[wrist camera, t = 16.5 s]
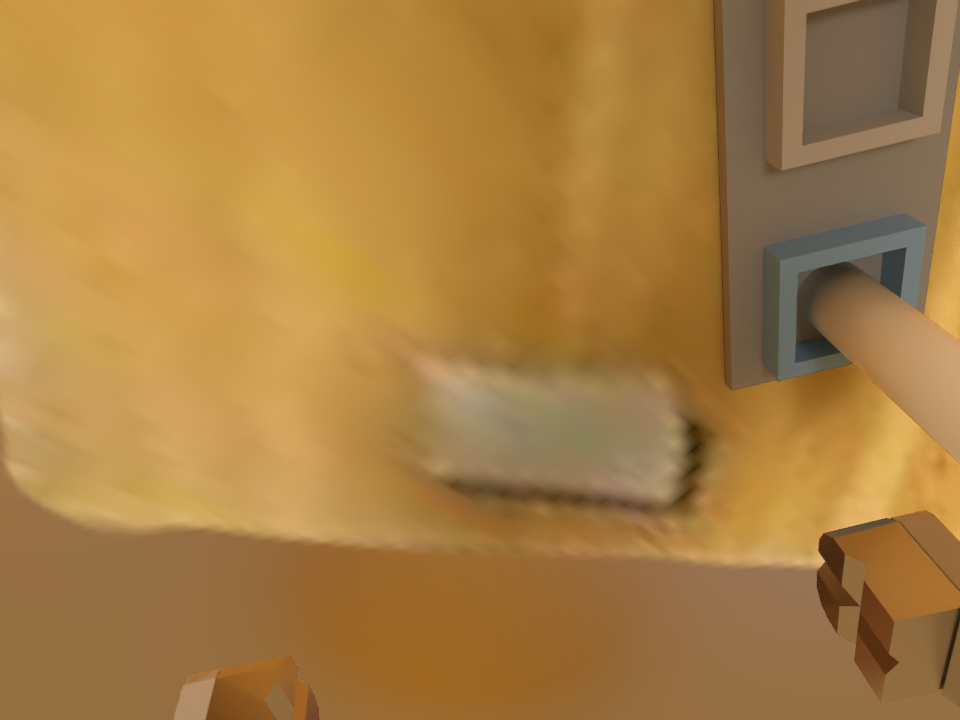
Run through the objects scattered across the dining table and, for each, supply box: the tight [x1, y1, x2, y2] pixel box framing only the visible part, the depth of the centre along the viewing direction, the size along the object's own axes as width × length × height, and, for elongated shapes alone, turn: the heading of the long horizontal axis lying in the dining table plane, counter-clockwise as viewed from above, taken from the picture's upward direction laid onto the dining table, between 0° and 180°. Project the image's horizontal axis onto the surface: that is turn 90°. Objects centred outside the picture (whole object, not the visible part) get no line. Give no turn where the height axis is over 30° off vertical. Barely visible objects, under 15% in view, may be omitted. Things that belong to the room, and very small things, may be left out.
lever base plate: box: [714, 0, 960, 390], centre depth 37 cm, size 24×12×3 cm, turn 12°
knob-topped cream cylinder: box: [797, 262, 960, 464], centre depth 34 cm, size 4×4×17 cm
